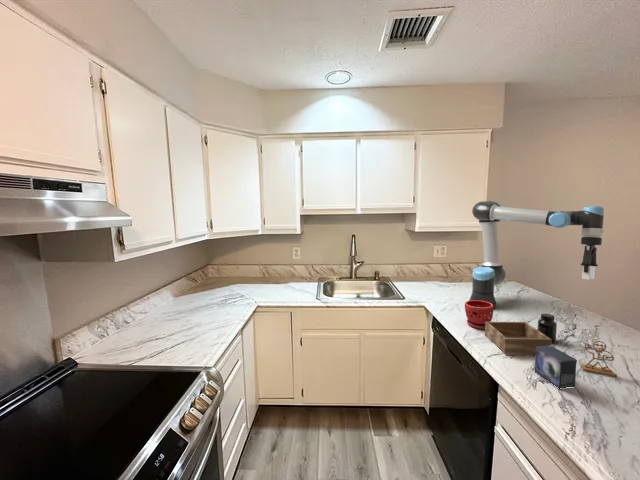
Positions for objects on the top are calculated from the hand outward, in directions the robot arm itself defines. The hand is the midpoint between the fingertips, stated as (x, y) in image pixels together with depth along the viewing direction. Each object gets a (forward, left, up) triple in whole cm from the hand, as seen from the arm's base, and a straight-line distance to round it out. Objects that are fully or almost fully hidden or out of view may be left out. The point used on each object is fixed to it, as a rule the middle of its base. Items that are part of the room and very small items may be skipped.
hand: (588, 278), depth 143 cm
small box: (+50, -47, -24) cm, 73 cm away
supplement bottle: (+19, -30, -24) cm, 43 cm away
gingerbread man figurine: (+44, -28, -24) cm, 58 cm away
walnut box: (+24, -46, -24) cm, 57 cm away
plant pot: (+3, -53, -24) cm, 58 cm away
